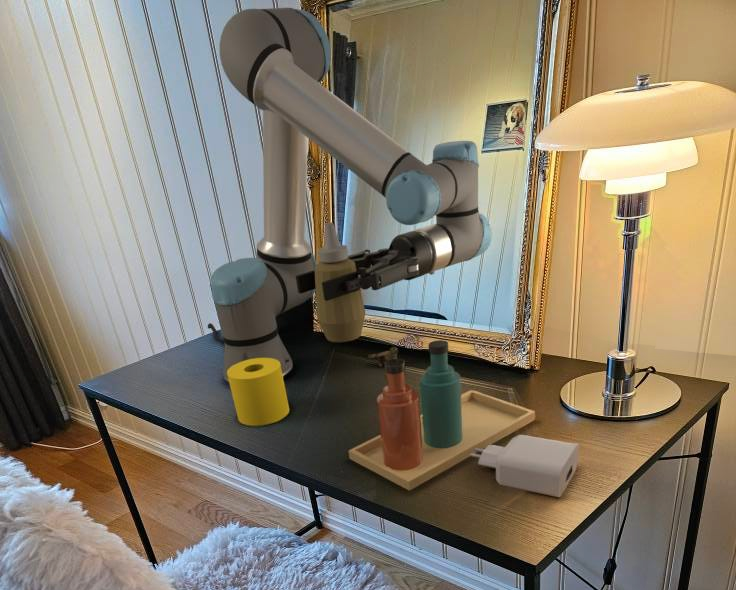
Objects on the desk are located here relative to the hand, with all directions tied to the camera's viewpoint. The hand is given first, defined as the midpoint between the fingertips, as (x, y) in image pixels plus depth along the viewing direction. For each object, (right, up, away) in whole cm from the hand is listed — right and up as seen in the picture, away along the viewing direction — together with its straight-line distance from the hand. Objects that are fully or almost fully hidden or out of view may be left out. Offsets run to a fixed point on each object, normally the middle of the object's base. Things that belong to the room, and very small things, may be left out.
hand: (311, 288), depth 102 cm
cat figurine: (+12, -4, +39) cm, 41 cm away
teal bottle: (+21, -23, +7) cm, 32 cm away
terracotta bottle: (+15, -27, +3) cm, 31 cm away
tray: (+22, -23, +8) cm, 33 cm away
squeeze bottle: (+5, -6, +8) cm, 11 cm away
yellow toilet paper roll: (-11, -16, +25) cm, 32 cm away
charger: (+32, -29, -3) cm, 43 cm away
